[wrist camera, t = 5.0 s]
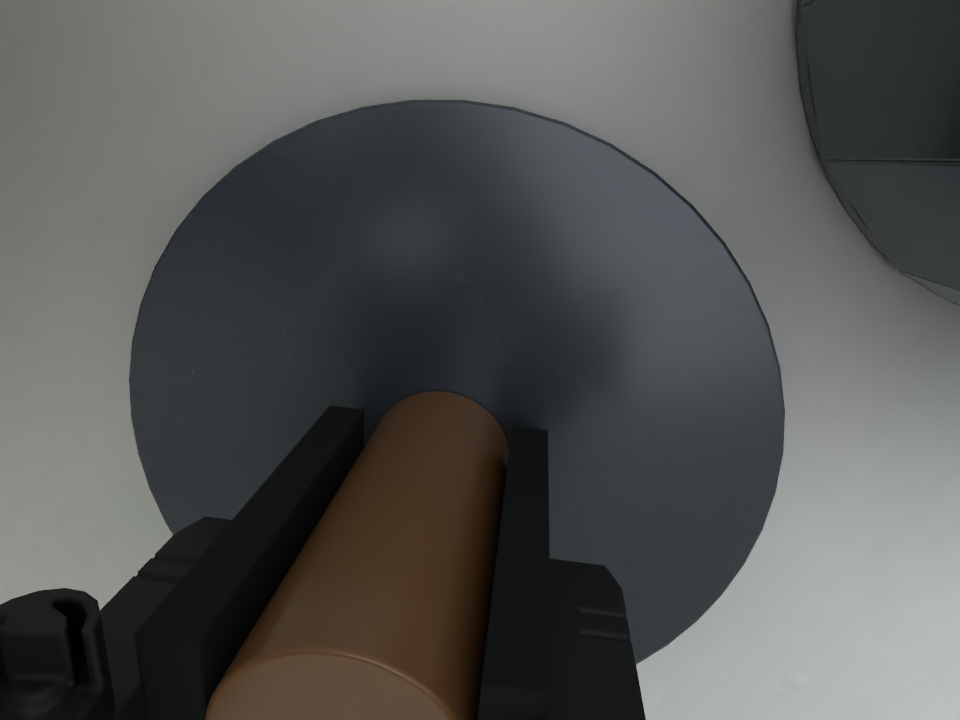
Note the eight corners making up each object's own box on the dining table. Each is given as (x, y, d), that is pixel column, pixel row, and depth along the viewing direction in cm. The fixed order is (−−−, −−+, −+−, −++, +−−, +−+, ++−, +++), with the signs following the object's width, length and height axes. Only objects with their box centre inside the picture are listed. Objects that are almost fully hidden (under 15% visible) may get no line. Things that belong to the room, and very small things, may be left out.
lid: (184, 630, 18) (-112, 1022, 10) (125, 78, 13) (-569, -50, 5) (697, 703, 17) (838, 1210, 9) (845, 133, 12) (1483, 86, 4)
